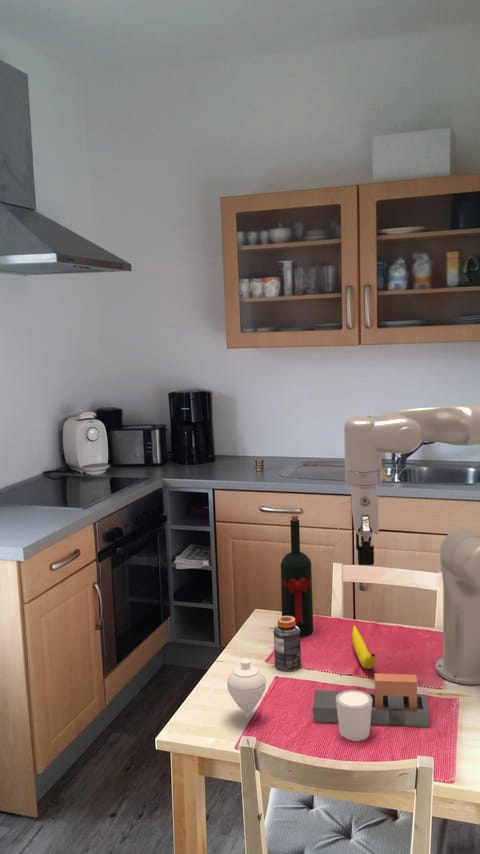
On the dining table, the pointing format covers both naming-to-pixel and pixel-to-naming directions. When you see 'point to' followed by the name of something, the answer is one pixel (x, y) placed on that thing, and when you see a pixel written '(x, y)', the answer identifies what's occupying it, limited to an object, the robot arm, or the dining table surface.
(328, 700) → the grey slotted block
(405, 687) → the orange block
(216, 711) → the dining table surface
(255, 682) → the spinning top
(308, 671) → the dining table surface
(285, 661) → the pill bottle
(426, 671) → the dining table surface
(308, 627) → the wine bottle
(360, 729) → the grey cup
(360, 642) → the banana
